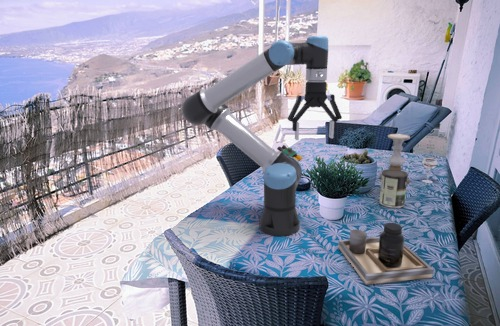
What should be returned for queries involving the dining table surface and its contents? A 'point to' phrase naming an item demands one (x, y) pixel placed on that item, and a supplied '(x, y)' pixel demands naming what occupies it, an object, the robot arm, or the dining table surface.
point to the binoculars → (290, 153)
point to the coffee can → (393, 188)
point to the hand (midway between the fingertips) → (313, 138)
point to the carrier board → (372, 270)
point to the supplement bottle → (391, 245)
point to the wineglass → (429, 166)
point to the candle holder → (397, 152)
